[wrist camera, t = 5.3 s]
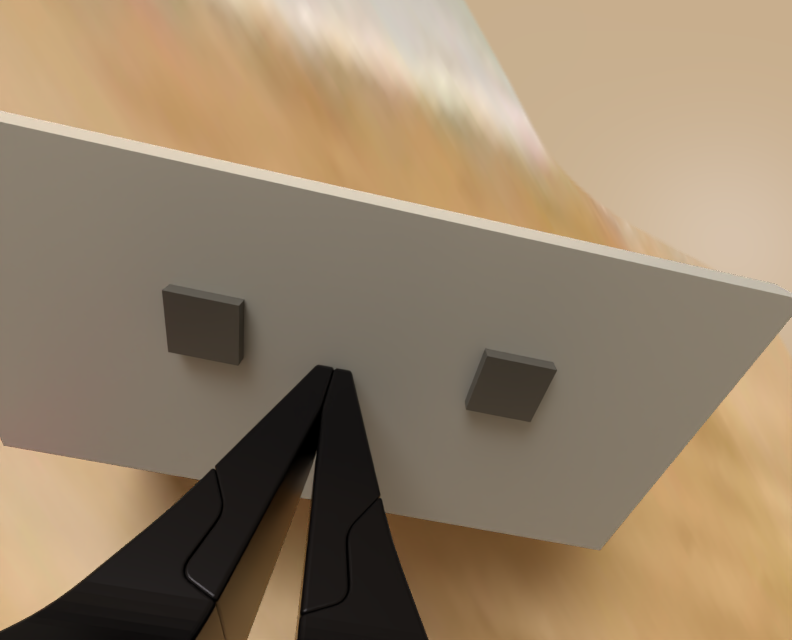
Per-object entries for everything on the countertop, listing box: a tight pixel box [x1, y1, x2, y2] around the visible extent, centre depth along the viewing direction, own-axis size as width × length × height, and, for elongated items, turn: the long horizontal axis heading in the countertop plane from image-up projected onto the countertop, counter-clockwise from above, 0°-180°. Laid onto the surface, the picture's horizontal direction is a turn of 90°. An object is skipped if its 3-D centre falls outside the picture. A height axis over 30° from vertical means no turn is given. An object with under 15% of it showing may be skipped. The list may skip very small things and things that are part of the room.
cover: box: [0, 111, 792, 550], centre depth 10 cm, size 9×18×1 cm
